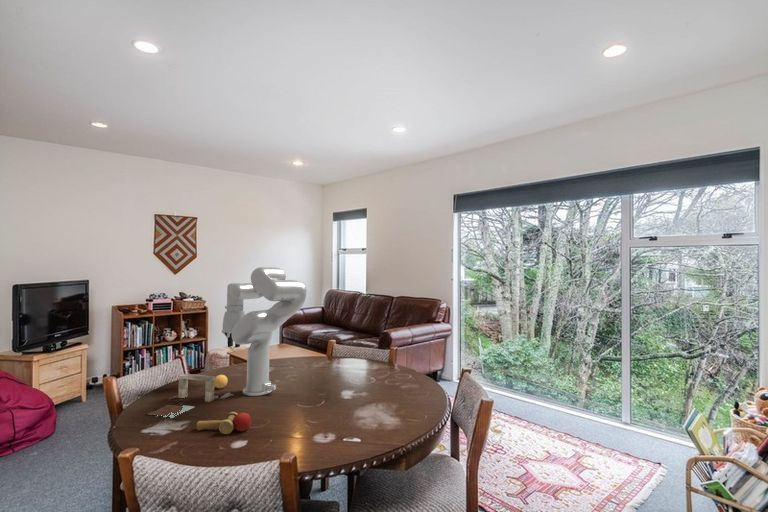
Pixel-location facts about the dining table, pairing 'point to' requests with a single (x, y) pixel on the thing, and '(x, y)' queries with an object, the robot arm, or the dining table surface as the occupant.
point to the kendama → (228, 423)
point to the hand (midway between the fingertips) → (233, 346)
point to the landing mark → (185, 408)
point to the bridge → (184, 379)
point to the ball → (220, 381)
